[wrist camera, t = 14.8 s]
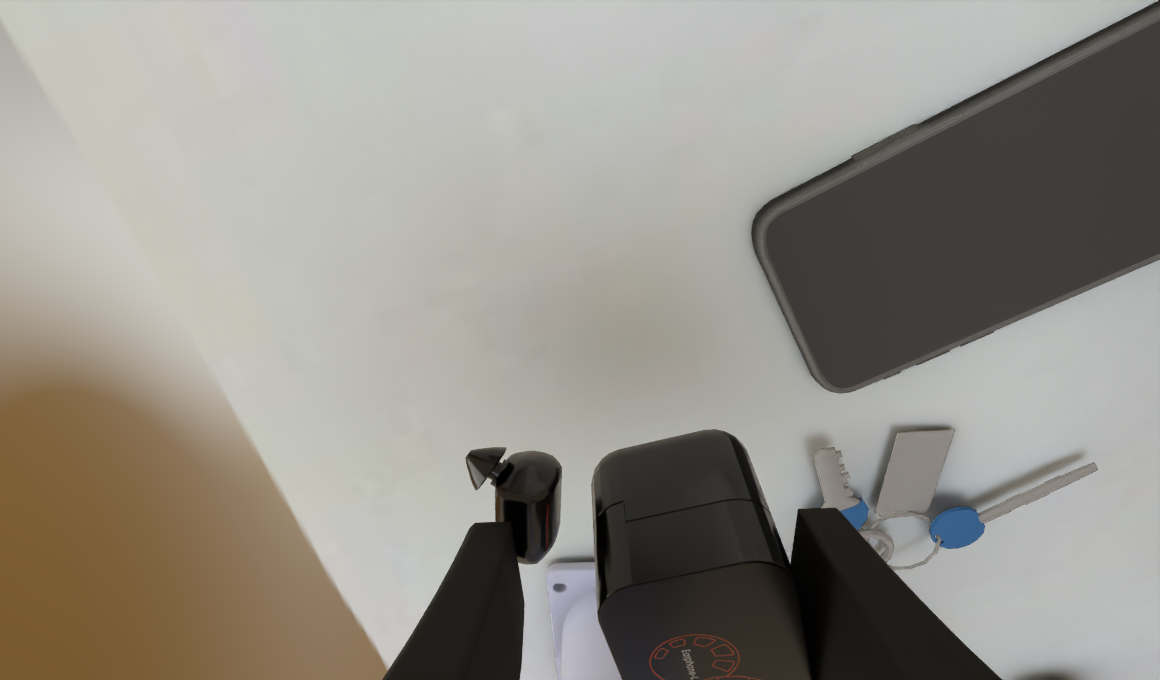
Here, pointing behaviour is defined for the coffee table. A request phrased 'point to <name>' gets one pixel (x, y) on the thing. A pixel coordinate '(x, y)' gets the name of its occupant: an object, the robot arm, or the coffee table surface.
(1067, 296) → the smartphone
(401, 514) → the coffee table surface
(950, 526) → the key chain
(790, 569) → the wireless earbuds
